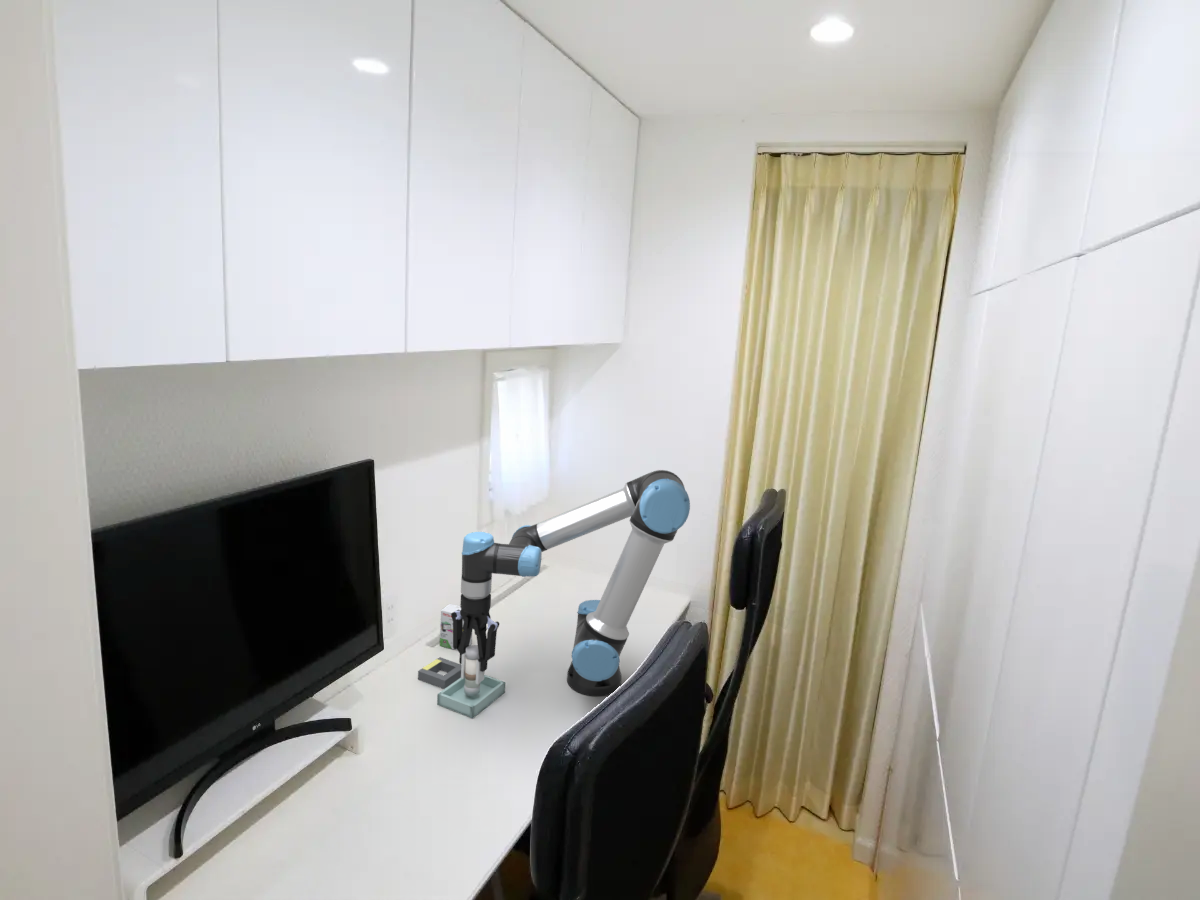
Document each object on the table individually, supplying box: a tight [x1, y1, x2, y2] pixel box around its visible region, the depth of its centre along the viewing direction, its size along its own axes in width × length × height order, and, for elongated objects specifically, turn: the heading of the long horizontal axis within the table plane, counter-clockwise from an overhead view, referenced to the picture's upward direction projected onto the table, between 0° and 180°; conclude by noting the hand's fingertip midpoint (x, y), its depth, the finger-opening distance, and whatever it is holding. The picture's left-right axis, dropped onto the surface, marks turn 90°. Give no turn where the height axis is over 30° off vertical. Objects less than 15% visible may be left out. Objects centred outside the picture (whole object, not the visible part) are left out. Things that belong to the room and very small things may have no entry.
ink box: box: [439, 603, 473, 651], centre depth 197 cm, size 8×5×12 cm, turn 71°
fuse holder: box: [417, 656, 461, 690], centre depth 180 cm, size 9×9×3 cm
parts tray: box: [436, 674, 506, 719], centre depth 171 cm, size 11×14×3 cm
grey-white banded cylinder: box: [464, 644, 480, 696], centre depth 170 cm, size 4×4×12 cm
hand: (472, 678), depth 171 cm, fingers closed on grey-white banded cylinder, 4 cm apart
